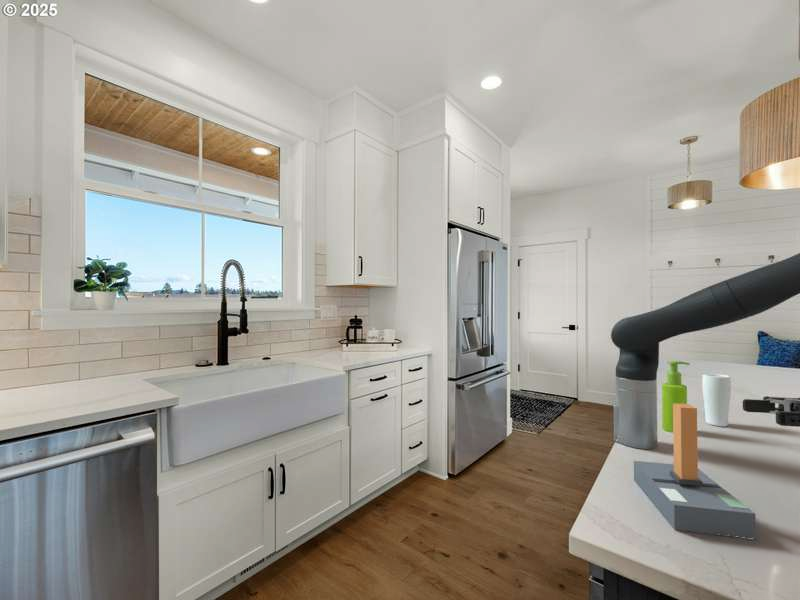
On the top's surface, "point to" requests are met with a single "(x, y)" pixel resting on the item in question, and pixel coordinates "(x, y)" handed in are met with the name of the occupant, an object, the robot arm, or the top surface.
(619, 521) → the top surface
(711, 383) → the drinking glass
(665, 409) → the soap dispenser
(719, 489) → the switch box
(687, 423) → the handle
